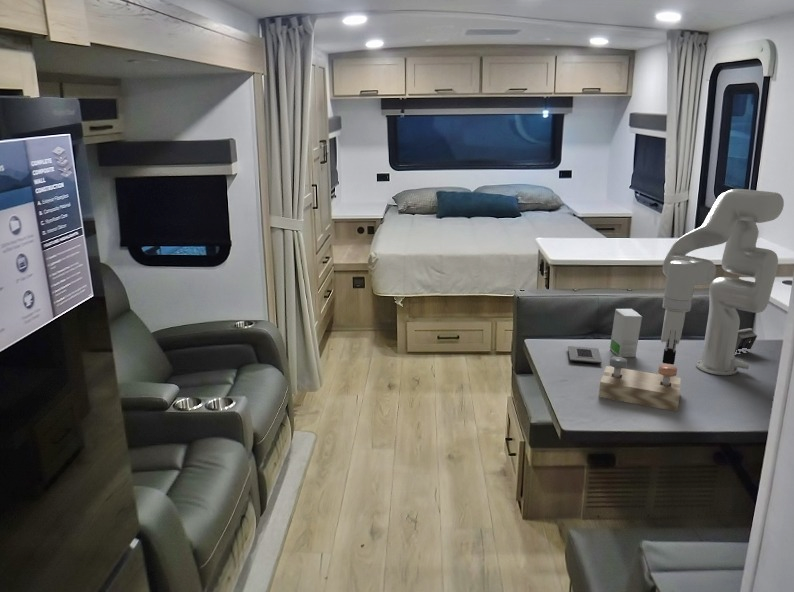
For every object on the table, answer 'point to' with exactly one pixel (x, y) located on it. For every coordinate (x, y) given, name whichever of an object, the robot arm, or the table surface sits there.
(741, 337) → the electrical switch
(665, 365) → the terracotta button
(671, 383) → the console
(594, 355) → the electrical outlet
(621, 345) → the skincare box
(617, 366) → the grey button
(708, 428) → the table surface
